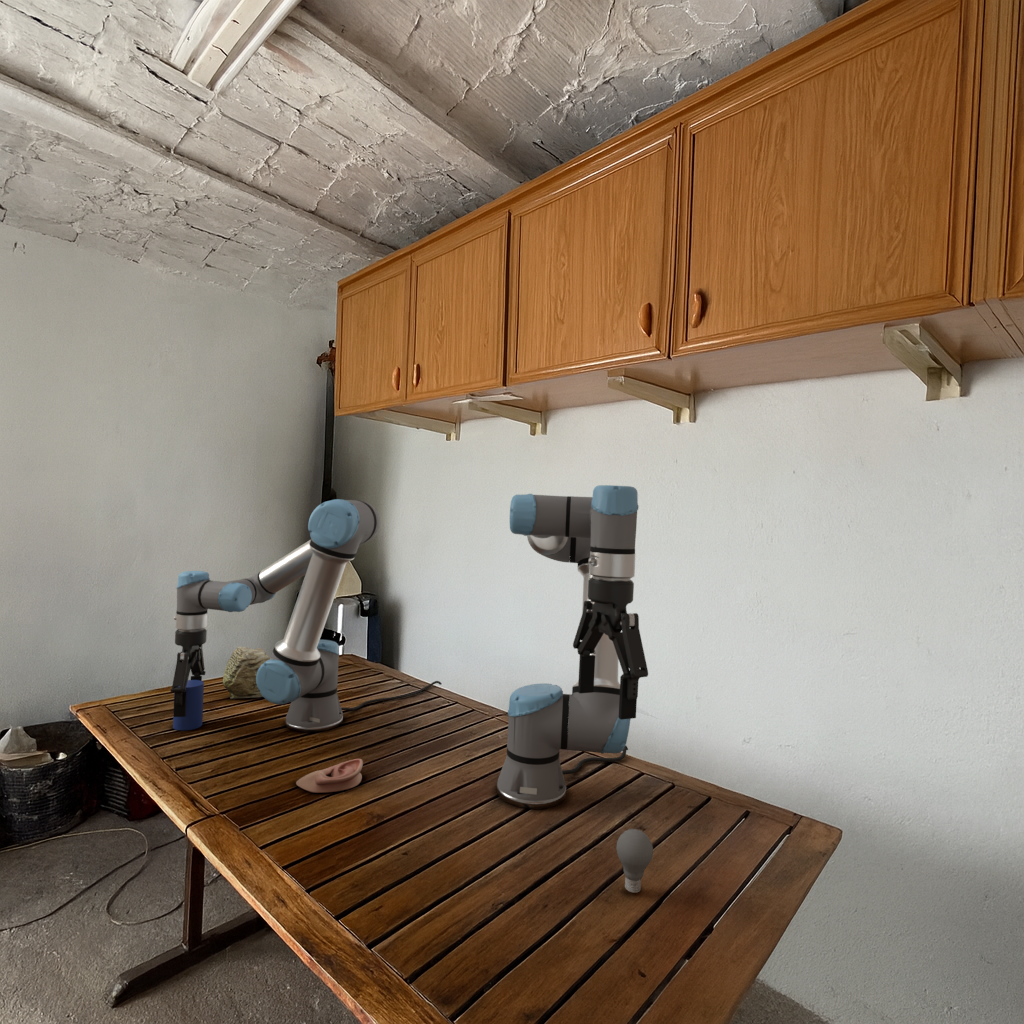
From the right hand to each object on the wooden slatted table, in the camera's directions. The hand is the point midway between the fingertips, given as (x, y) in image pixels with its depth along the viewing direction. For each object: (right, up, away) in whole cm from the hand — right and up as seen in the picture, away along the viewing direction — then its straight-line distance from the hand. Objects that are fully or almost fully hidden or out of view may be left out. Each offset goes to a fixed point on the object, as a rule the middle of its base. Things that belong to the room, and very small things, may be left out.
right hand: (605, 704), depth 106 cm
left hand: (-103, -20, +64) cm, 123 cm away
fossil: (-96, -25, +92) cm, 135 cm away
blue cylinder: (-103, -25, +64) cm, 124 cm away
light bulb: (+5, -31, 0) cm, 31 cm away
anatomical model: (-56, -28, +35) cm, 71 cm away
